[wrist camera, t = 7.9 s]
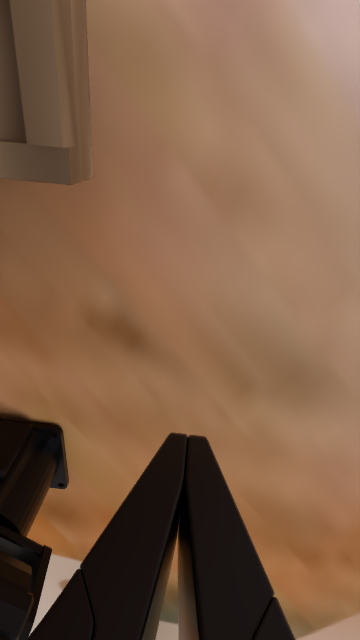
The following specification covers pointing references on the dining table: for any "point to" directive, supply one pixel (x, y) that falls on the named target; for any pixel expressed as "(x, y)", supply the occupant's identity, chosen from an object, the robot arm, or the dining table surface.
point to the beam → (44, 92)
